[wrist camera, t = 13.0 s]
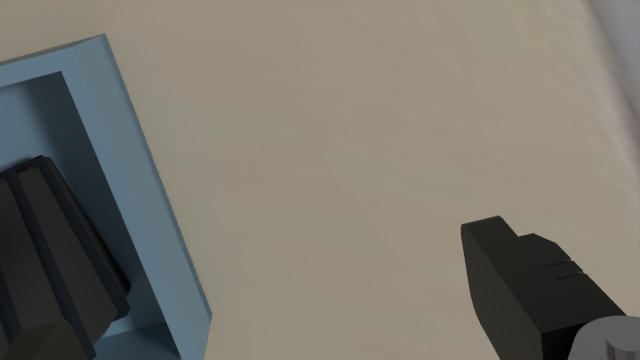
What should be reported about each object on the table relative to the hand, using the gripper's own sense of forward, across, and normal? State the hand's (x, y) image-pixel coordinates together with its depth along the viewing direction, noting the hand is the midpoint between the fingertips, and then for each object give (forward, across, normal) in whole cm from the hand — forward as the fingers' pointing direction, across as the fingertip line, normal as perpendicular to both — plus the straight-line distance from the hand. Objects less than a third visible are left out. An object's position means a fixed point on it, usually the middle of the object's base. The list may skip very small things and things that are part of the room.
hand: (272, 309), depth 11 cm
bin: (+27, +16, +6) cm, 32 cm away
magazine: (+26, +16, +6) cm, 31 cm away
